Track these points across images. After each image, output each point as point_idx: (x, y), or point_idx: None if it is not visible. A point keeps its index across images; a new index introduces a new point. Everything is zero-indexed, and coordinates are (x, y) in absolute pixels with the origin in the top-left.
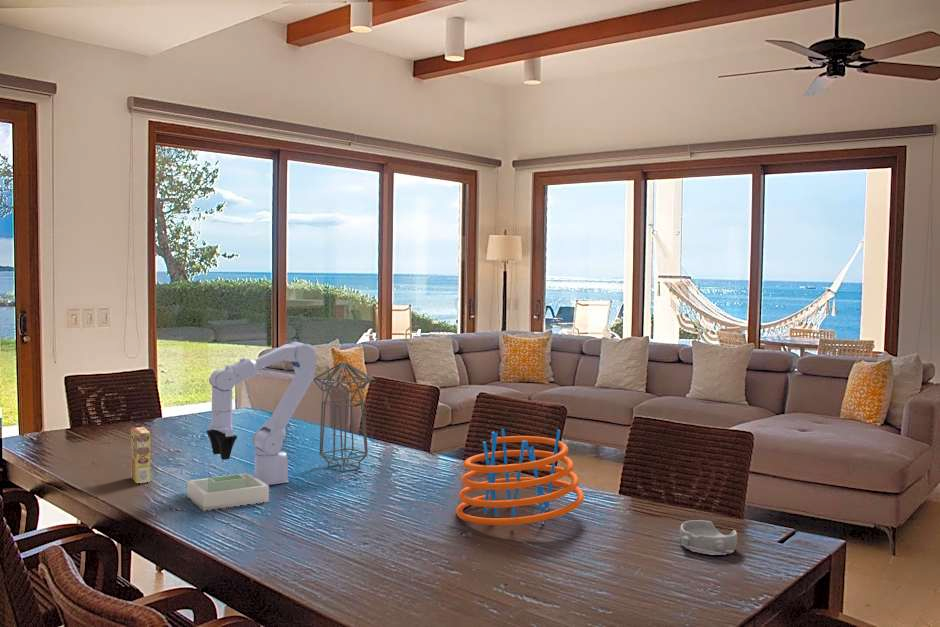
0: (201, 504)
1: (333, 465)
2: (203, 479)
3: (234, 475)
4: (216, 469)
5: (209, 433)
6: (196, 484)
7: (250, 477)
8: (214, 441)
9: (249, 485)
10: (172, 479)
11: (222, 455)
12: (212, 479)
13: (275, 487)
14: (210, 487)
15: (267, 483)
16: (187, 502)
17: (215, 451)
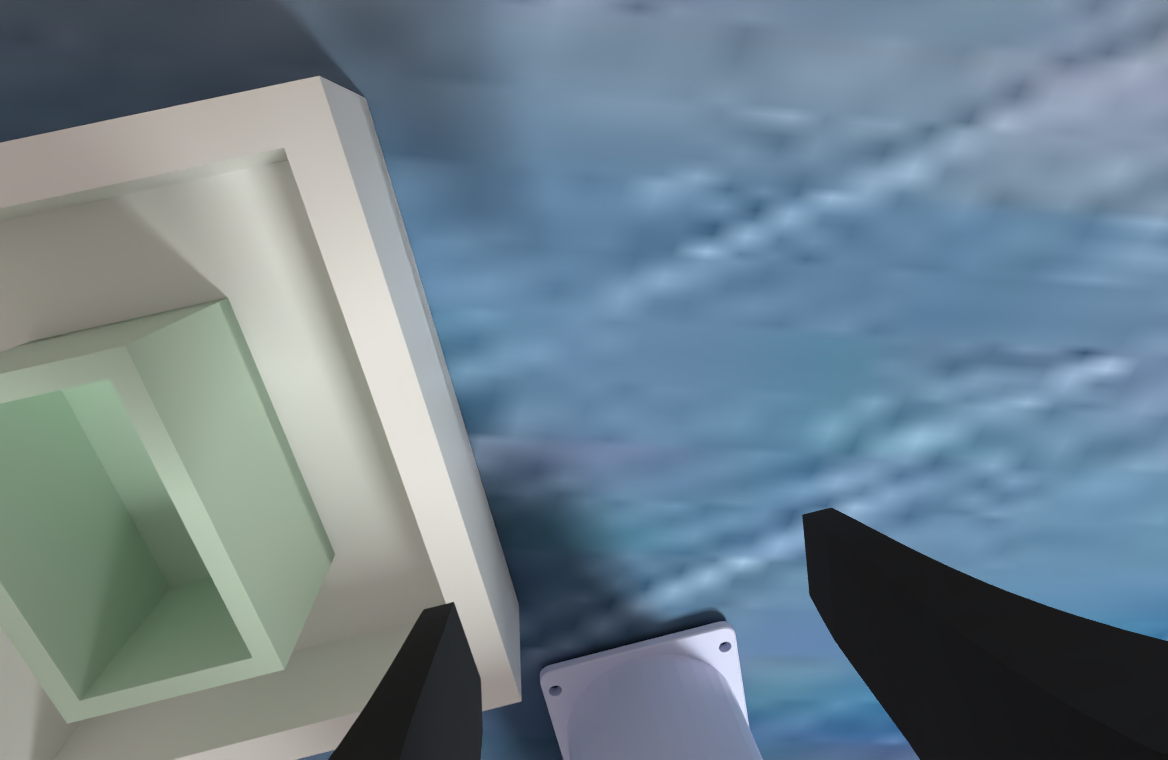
0: None
1: None
2: (347, 288)
3: (235, 621)
4: (1160, 416)
5: (1124, 755)
6: (95, 186)
7: (363, 708)
8: (939, 666)
9: (402, 641)
10: (1045, 11)
11: (400, 661)
12: (22, 393)
13: (495, 752)
14: (83, 341)
15: (560, 725)
16: (133, 87)
17: (825, 556)
